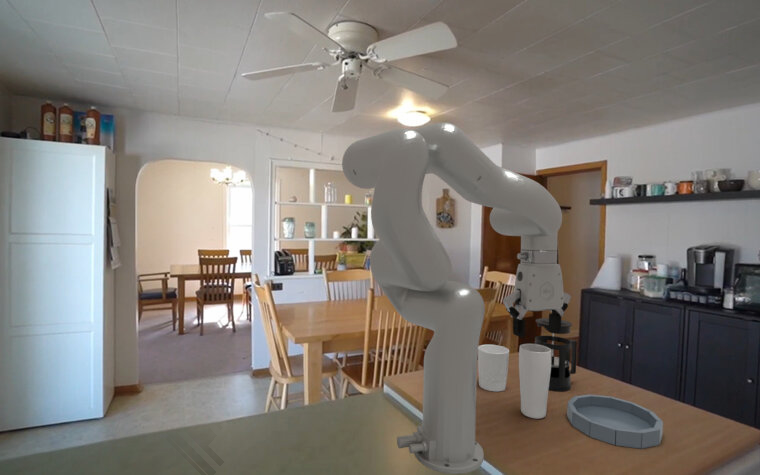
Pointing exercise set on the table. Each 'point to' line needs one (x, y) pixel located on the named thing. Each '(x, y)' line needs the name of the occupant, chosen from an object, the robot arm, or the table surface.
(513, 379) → the table surface
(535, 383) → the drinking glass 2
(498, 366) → the white cup
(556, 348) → the french press
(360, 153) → the robot arm
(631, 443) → the bowl
